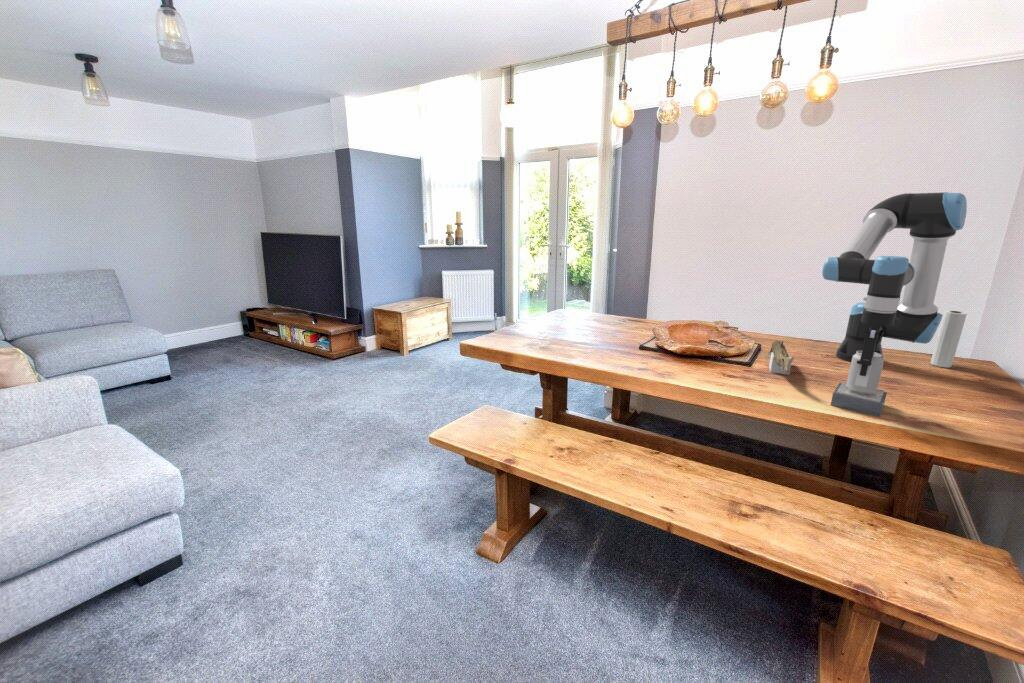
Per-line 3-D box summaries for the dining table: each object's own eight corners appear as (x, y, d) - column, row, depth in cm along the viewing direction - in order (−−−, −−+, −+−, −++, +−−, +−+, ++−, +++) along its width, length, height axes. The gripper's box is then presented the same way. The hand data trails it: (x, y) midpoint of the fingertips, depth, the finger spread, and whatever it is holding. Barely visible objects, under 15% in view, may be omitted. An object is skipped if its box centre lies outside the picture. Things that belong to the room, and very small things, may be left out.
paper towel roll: (939, 367, 173) (955, 313, 167) (926, 362, 179) (940, 309, 173) (958, 368, 173) (975, 313, 167) (944, 363, 178) (959, 310, 173)
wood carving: (770, 386, 152) (775, 355, 149) (761, 357, 183) (766, 331, 180) (801, 391, 149) (807, 358, 146) (787, 360, 180) (792, 333, 177)
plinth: (837, 394, 147) (840, 380, 145) (884, 404, 139) (887, 390, 138) (830, 405, 138) (833, 391, 137) (880, 416, 130) (883, 402, 129)
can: (845, 384, 142) (853, 347, 139) (875, 389, 138) (884, 352, 135) (845, 391, 136) (854, 353, 133) (877, 397, 132) (886, 358, 129)
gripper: (868, 302, 142) (853, 366, 147) (857, 315, 124) (841, 387, 130) (899, 306, 137) (883, 372, 143) (892, 319, 119) (874, 394, 125)
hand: (863, 379), depth 136 cm, fingers open, 13 cm apart
